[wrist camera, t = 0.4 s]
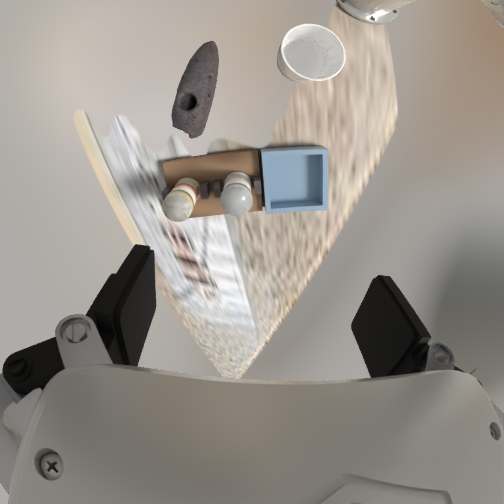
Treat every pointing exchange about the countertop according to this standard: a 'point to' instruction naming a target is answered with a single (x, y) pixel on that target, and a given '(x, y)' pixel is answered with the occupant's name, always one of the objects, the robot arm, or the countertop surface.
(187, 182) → the marked fuse
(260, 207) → the fuse holder
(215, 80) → the perforated stone tool
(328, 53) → the white cup
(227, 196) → the grey rounded cylinder
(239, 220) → the countertop surface
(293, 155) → the tray
